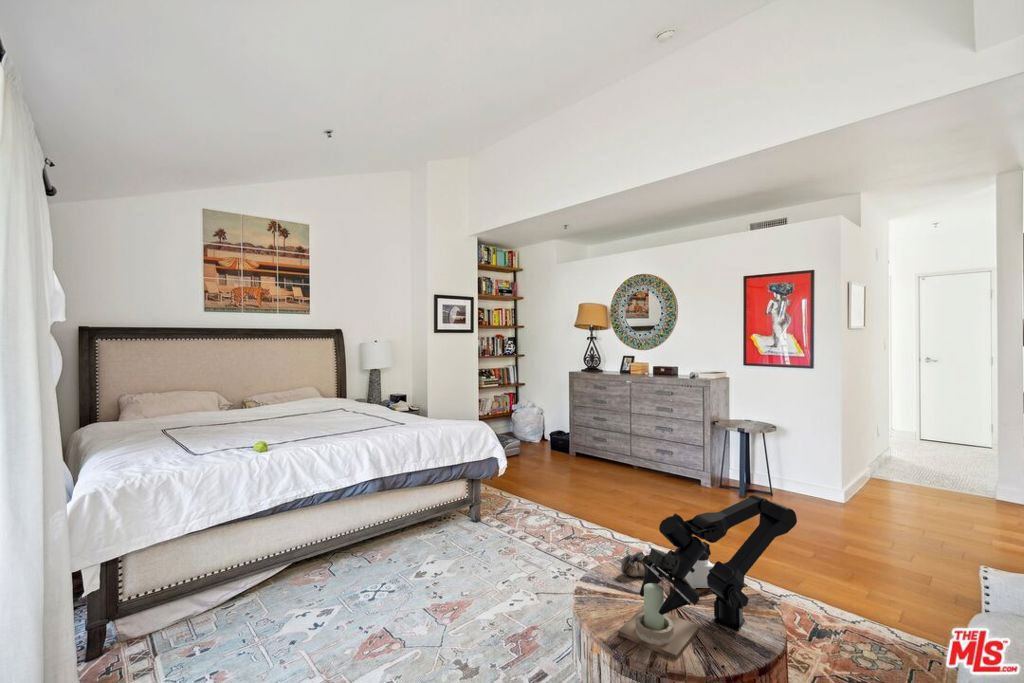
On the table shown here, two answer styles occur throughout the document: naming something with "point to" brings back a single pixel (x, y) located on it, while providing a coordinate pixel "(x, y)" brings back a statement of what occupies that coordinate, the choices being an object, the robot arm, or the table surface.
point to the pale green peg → (653, 606)
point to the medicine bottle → (700, 572)
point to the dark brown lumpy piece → (633, 565)
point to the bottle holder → (661, 634)
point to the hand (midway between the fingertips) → (650, 604)
